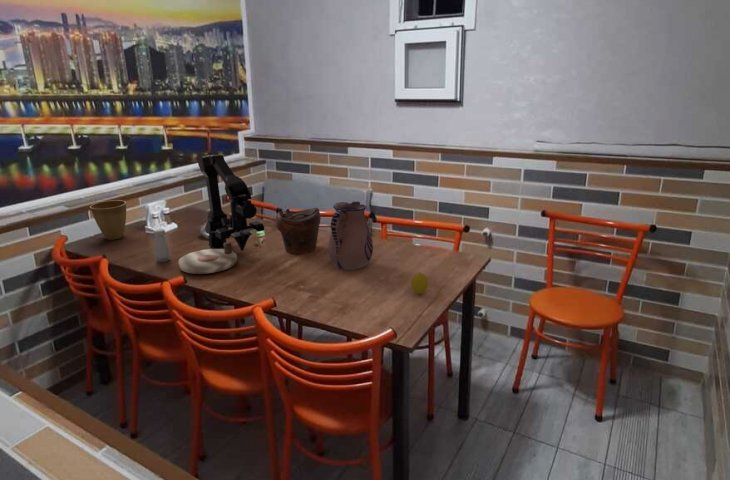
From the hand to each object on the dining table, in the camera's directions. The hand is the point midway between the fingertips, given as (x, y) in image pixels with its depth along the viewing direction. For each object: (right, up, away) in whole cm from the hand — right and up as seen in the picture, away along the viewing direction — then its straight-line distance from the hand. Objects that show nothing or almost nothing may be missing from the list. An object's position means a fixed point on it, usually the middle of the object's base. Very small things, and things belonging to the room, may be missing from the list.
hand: (241, 250), depth 202 cm
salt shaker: (-33, -4, +2) cm, 33 cm away
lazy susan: (-12, -5, -4) cm, 14 cm away
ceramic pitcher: (+44, -7, -7) cm, 45 cm away
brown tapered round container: (+22, 0, +14) cm, 26 cm away
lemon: (+68, -15, -31) cm, 76 cm away
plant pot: (-67, +5, +31) cm, 74 cm away
